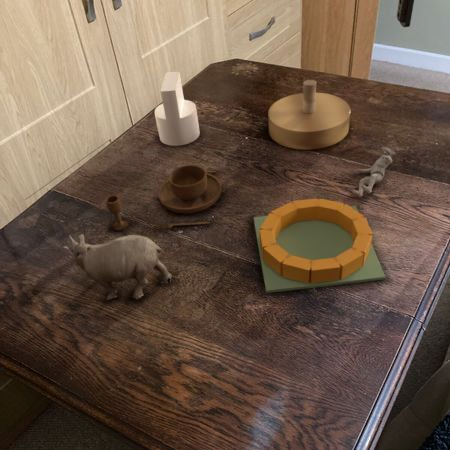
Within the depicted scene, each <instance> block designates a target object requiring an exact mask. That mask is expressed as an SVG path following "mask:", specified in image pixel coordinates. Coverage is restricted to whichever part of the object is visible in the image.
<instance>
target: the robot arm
mask: <svg viewBox="0 0 450 450" xmlns="http://www.w3.org/2000/svg"><path fill="white" fill-rule="evenodd" d="M414 3H415V0H398V5H397V9H396V10H397V12H396V19H397V21H398V22H399V24H400V25H401V27H403V28H410V26H411V22H412V15H413V10H414V5H415V4H414Z"/></svg>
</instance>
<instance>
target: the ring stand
mask: <svg viewBox="0 0 450 450" xmlns="http://www.w3.org/2000/svg"><path fill="white" fill-rule="evenodd" d="M267 114H268V115H267V117H268V119H267V120H268V134H269V136H270V138H271V139H272V140H273V141H274V142H276V144H278V145H280V146H283V147H285V148H290V149H294V150H304V151H305V150H318V149H324V148H327V147H331V146H333V145H336V144H337V143H339V142H341V141H343V139H345V138H346V136H347V135H348V133H349V129H350V122H351V121H350V119H351V107H350V105H349V104H348V103H347V101H346V100H344V99H342V98H341V97H338V96H337V95H333V94H330V93H324V92H317V81H316V80H315V79H306V80H304V81H303V82H302V92H300V93H295V94H291V95H287V96H285V97H282V98H280V99H278V100H277V101H275V102H273V104H271V106H270V108H269V109H268V113H267Z"/></svg>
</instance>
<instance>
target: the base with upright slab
mask: <svg viewBox="0 0 450 450" xmlns="http://www.w3.org/2000/svg"><path fill="white" fill-rule="evenodd" d="M160 96H161V101H162V103H161V104H159V105H158V106H157V107H155V109H154V116H155V122H156V128H157V131H158V137H159V140H160V142H161V143H163V144H165V145H167V146H171V147H179V146H185V145H188V144H191V143H193V142H195V141H196V140H197V139H198V138H199V137H200V134H201V131H200V126H199V118H198V110H197V104H195V102H194V101H192V100H188V99H185V97H184V91H183V84H182V78H181V72H180V71H169V72H165V74H164V77H163V81H162V84H161V89H160Z"/></svg>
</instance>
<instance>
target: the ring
mask: <svg viewBox="0 0 450 450" xmlns="http://www.w3.org/2000/svg"><path fill="white" fill-rule="evenodd" d="M350 206H351V205H348V204H346V203H345V204H344V203H343V202H339V201H335V200H329V199H325V198H319V199H318V198H308V199H300V200H293V201H289V202H287V203H285V204H283V205H282V206H279V207H278V208H275V209H274V210H272V211H271V212H270V213H269V214H268V215H266V216H267V218H266V219H265V221H264V222H263V224H262V226H261V227H260V230H259V233H260V245H261V251H262V256H263V260H264V262H265V263H267V264H268V265H269V266H270V267H271V268H272V269H274V270H275V271H276V272H277V273H278V274H279V275H282V274H283V277H286V278H290V279H293V280H297V281H301V282H305V283H309V281H311V284H312V283H321V282H329V281H338V280H339V278H340V279H343V278H345V277H346V276H348V275H350V274H351V273H353V272H355V271H356V270H358V269H360V268H361V267H362V266H363V265H364V262H365V260H366V258H367V255H368V253H369V251H370V247H371V243H372V240H373V232H372V229H371V226H370V225H369V222H368V220H367V217H365V216H364V214H362V213H361V212H359V211H358V212H357V211H356V210H354V209H353V208H351V207H350ZM315 219H318V220H323V221H328V222H332V223H336V224H338V225H339V226H341V227H342V228H344V229H345V230H347V231H348V232H349V233H351V235H352V238H353V240H354V243H353V246H352V248H350V249H349V250H347V251H345V252H343V253H342V254H340V255H338V256H336V257H335V258H328V259H319V260H308V259H304V258H300V257H296V256H292V255H289V254H288V253H287V252H286V251H284V250H283V249H282V248H281V247H280V246H278V245H277V244H276V241H275V239H276V238H277V236H278V234H279V233H280V231H281V230H282V229H284V228H286V227H288V226H290V225H291V224H293V223H295V222H299V221H307V220H315Z"/></svg>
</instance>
